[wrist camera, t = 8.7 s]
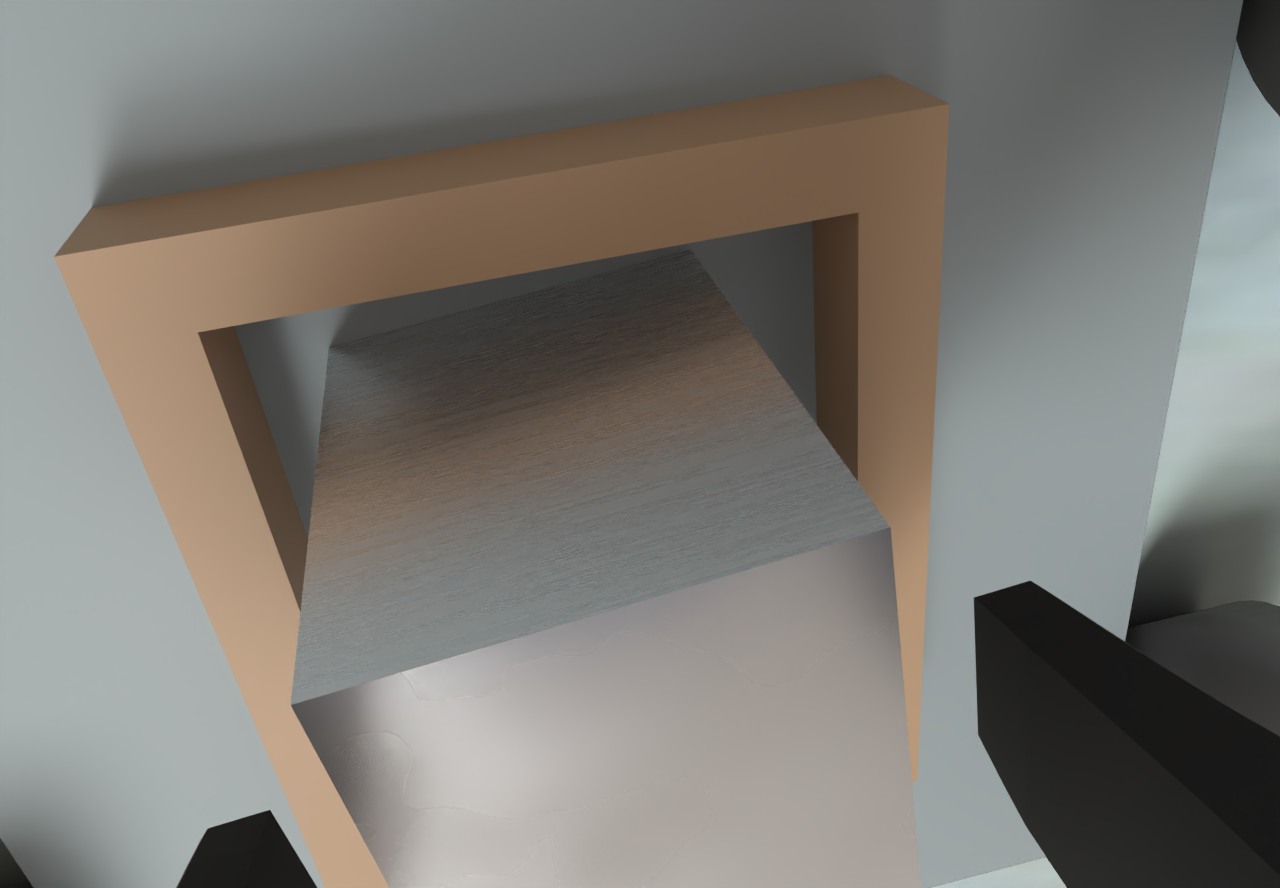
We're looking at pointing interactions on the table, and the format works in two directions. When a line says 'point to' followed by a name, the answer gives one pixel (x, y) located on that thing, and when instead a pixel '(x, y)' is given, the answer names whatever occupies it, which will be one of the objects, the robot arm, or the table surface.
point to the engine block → (600, 605)
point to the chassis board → (548, 256)
